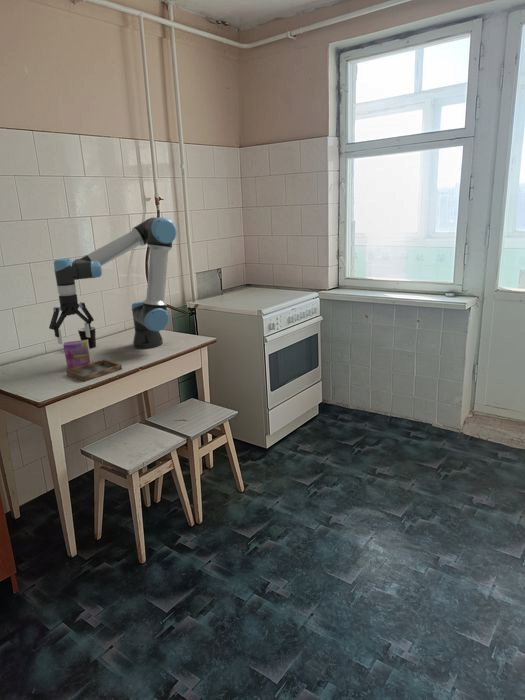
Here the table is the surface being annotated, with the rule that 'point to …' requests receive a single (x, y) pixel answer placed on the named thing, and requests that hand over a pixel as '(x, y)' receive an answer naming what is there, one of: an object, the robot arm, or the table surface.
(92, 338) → the coffee mug
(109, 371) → the tray
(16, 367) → the table surface
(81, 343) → the box
